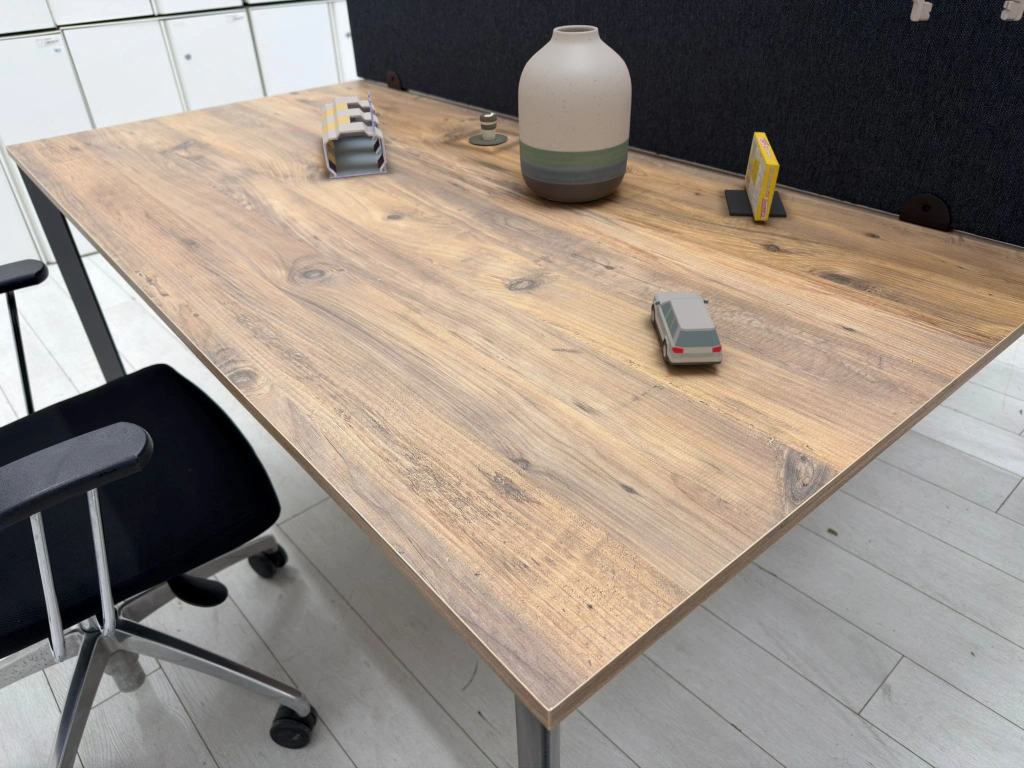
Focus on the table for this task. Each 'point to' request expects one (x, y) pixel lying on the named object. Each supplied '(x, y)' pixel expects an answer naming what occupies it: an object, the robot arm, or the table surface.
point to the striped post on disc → (488, 131)
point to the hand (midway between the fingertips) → (963, 20)
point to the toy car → (685, 329)
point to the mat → (742, 206)
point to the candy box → (761, 176)
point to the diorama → (352, 138)
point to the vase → (574, 117)
